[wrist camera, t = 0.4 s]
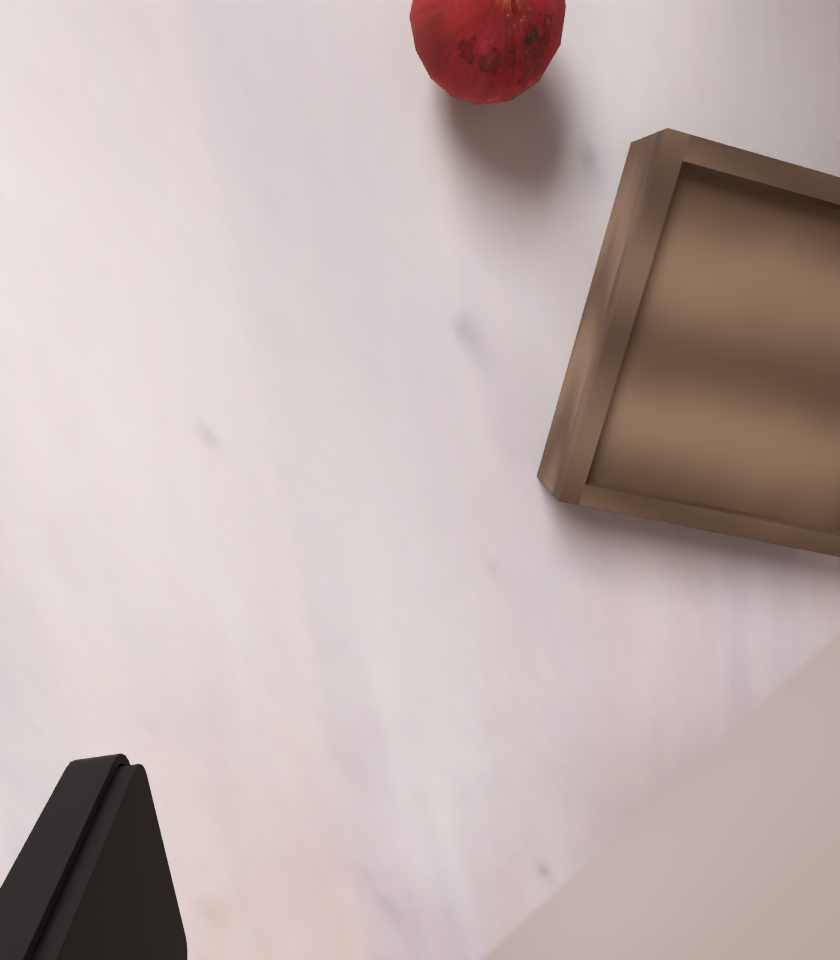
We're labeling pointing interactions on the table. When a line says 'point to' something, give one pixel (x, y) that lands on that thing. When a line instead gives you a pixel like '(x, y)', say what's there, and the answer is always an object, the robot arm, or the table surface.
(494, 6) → the onion
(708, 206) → the walnut tray
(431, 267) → the table surface
